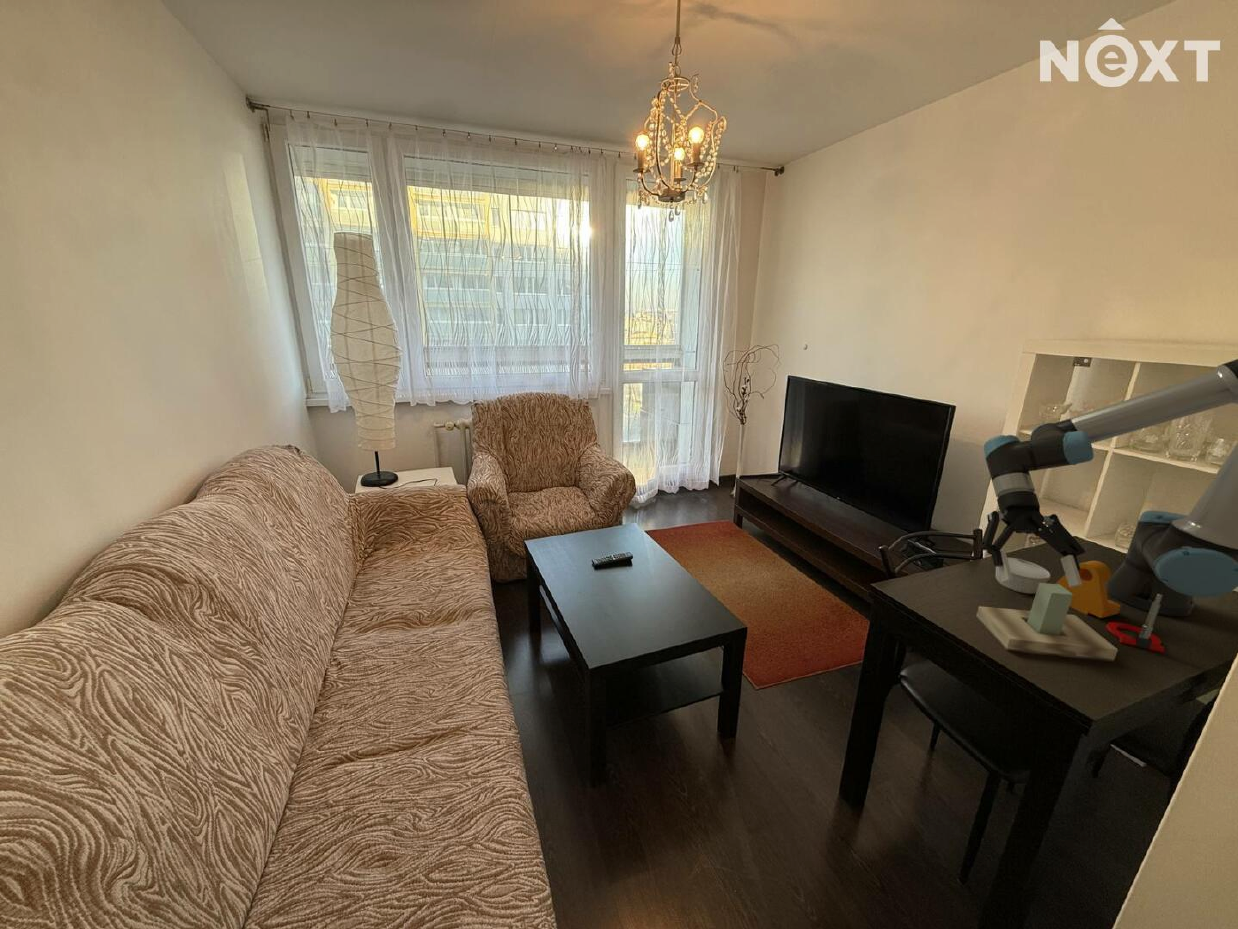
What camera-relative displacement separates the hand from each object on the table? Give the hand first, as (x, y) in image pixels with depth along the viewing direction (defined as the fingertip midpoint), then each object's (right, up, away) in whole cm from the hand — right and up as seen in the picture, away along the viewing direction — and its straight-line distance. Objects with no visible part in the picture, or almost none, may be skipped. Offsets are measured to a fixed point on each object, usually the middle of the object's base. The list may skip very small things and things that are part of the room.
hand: (1041, 583), depth 106 cm
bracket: (+21, -9, +12) cm, 26 cm away
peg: (0, -12, 0) cm, 12 cm away
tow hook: (+21, -12, +1) cm, 25 cm away
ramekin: (+13, -6, +22) cm, 26 cm away
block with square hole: (0, -12, 0) cm, 12 cm away
